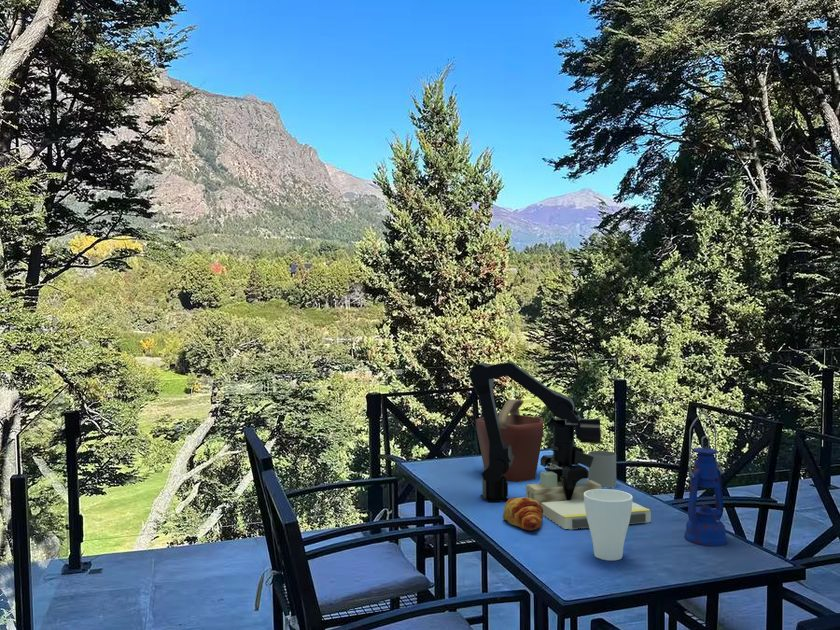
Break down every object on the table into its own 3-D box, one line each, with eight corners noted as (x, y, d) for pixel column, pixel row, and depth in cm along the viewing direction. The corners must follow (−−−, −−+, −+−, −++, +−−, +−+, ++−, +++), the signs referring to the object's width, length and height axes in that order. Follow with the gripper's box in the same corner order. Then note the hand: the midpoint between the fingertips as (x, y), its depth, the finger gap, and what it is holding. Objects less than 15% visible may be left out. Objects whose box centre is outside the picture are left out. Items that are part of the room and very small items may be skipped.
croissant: (502, 523, 185) (488, 497, 184) (533, 504, 186) (520, 479, 186) (525, 548, 164) (509, 519, 163) (560, 526, 165) (545, 498, 165)
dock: (566, 530, 167) (566, 518, 167) (541, 513, 181) (541, 502, 181) (652, 523, 173) (652, 510, 173) (621, 507, 187) (621, 495, 187)
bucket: (501, 464, 241) (501, 394, 241) (559, 473, 228) (559, 398, 228) (465, 478, 221) (465, 402, 221) (526, 488, 208) (526, 407, 208)
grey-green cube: (545, 487, 187) (545, 475, 187) (540, 484, 191) (540, 472, 191) (557, 486, 188) (557, 474, 188) (551, 483, 191) (551, 471, 191)
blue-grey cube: (575, 485, 189) (575, 473, 189) (569, 482, 193) (569, 470, 193) (587, 484, 190) (587, 472, 190) (581, 481, 194) (581, 469, 194)
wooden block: (534, 507, 185) (534, 489, 185) (526, 502, 191) (526, 484, 191) (601, 502, 190) (601, 485, 190) (590, 497, 196) (590, 480, 196)
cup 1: (609, 490, 205) (609, 457, 205) (584, 486, 210) (584, 454, 210) (620, 484, 212) (620, 452, 212) (595, 480, 217) (595, 449, 217)
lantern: (707, 549, 154) (706, 417, 154) (674, 537, 162) (673, 411, 162) (738, 541, 158) (737, 413, 158) (704, 530, 167) (704, 408, 167)
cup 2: (604, 567, 143) (604, 503, 143) (574, 551, 152) (573, 491, 152) (643, 560, 147) (643, 498, 147) (611, 545, 156) (611, 486, 156)
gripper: (606, 446, 183) (606, 504, 183) (574, 434, 201) (574, 487, 202) (568, 448, 181) (568, 507, 181) (539, 436, 199) (539, 489, 199)
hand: (563, 497), depth 190 cm, fingers closed on wooden block, 6 cm apart
